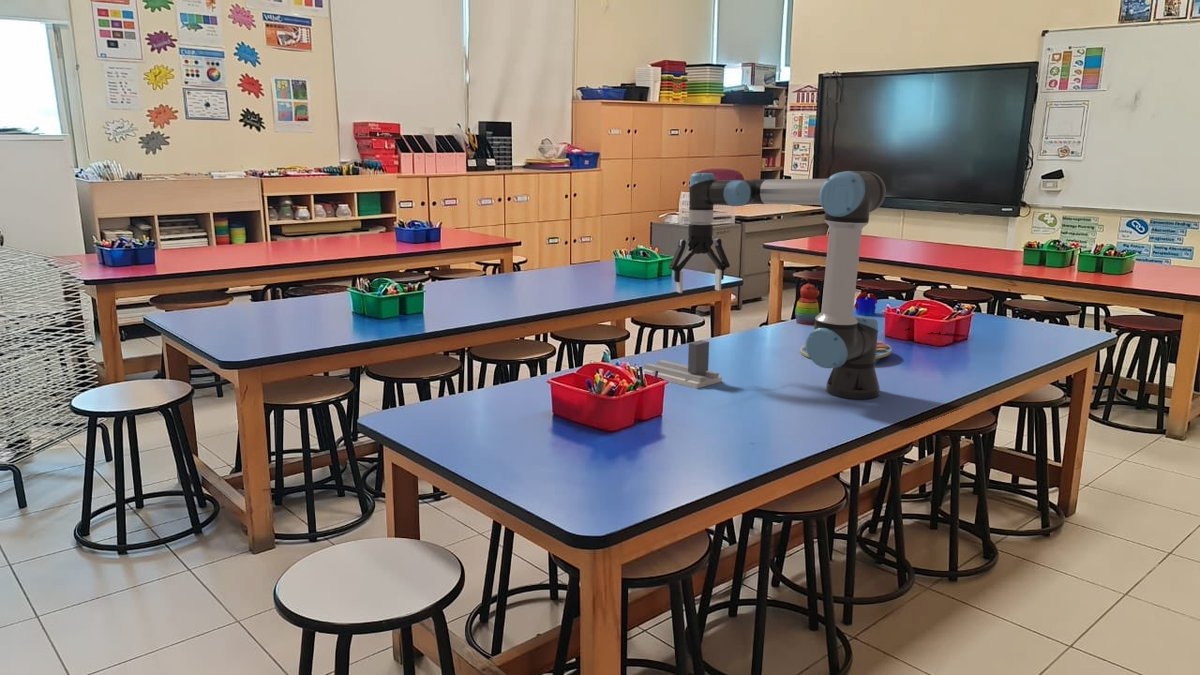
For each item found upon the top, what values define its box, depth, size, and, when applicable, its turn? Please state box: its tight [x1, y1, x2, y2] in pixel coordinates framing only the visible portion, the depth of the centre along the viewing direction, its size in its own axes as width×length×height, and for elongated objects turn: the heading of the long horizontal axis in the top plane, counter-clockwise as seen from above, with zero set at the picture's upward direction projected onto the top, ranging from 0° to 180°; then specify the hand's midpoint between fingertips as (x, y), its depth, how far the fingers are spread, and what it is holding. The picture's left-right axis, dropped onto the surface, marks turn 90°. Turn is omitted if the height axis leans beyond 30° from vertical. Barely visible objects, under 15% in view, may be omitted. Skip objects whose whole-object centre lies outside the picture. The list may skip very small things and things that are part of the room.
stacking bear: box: [794, 282, 820, 327], centre depth 349 cm, size 11×10×18 cm
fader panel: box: [642, 359, 723, 389], centre depth 270 cm, size 23×12×3 cm, turn 44°
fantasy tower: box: [854, 291, 878, 317], centre depth 367 cm, size 12×12×12 cm
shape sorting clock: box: [799, 339, 893, 365], centre depth 301 cm, size 31×30×6 cm
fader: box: [687, 340, 710, 376], centre depth 264 cm, size 3×6×11 cm, turn 134°
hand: (698, 291), depth 274 cm, fingers open, 13 cm apart
